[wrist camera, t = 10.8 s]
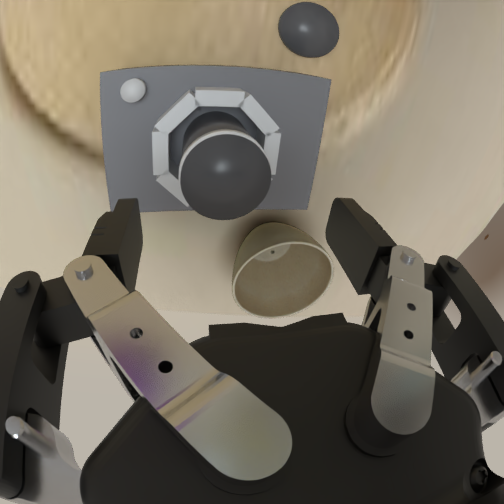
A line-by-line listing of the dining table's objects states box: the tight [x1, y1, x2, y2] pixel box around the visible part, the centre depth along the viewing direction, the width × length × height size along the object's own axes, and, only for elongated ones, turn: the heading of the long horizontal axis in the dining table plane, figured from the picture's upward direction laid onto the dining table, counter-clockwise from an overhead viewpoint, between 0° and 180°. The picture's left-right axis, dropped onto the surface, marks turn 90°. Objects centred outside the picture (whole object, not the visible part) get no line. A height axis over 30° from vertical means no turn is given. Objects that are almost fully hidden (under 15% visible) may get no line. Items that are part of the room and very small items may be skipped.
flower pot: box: [232, 222, 334, 319], centre depth 31 cm, size 10×10×7 cm
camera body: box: [100, 65, 331, 212], centre depth 21 cm, size 16×11×8 cm
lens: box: [179, 111, 271, 220], centre depth 17 cm, size 5×5×7 cm
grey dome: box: [278, 2, 339, 57], centre depth 20 cm, size 6×6×1 cm
